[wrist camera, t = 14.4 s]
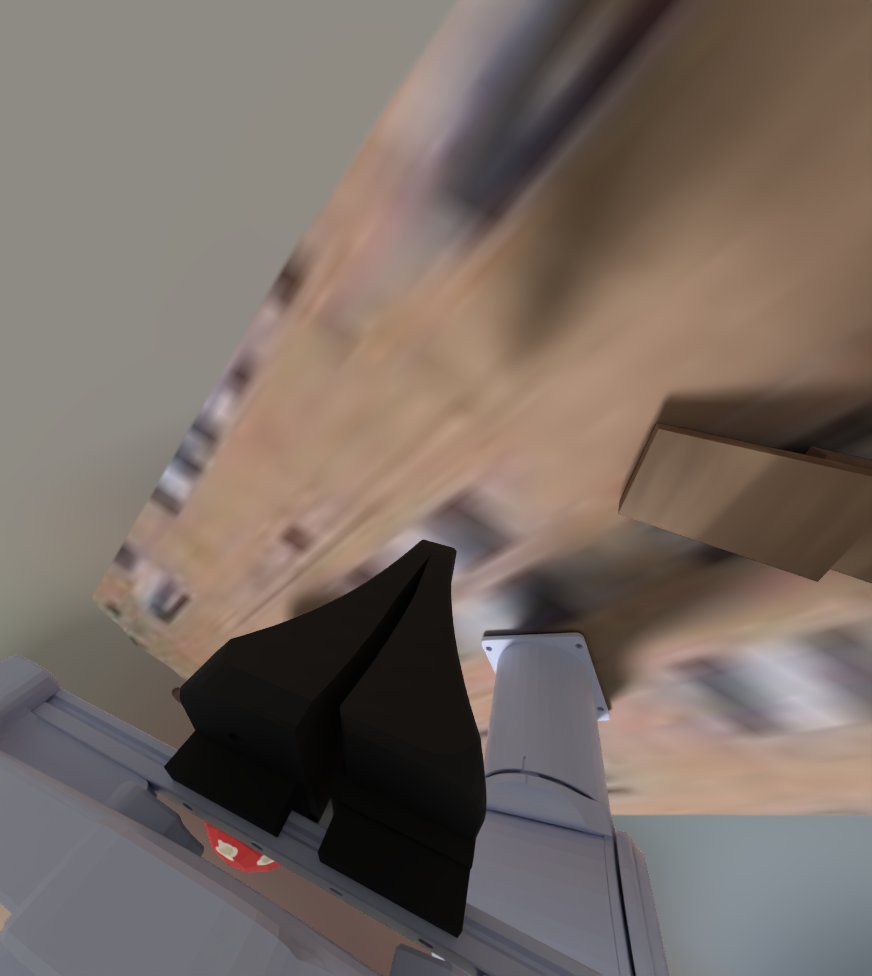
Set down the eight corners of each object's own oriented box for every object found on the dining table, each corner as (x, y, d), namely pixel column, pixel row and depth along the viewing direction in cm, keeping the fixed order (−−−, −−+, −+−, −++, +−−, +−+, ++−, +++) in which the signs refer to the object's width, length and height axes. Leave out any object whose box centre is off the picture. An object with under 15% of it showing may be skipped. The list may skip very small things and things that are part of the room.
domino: (657, 422, 16) (883, 471, 12) (619, 502, 18) (802, 562, 15) (658, 428, 14) (910, 485, 11) (618, 513, 17) (817, 581, 13)
